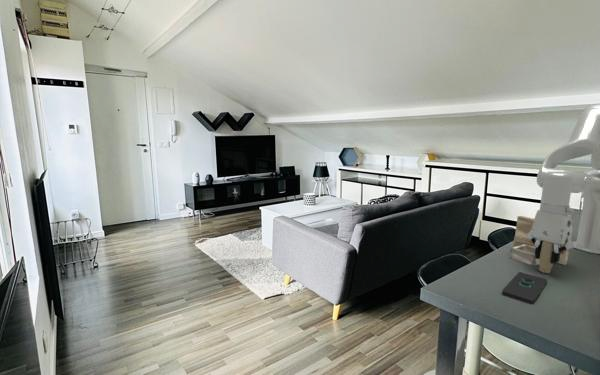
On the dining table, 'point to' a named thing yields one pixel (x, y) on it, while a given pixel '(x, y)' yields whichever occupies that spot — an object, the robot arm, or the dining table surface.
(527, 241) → the wooden wall shelf
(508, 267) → the dining table surface
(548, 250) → the handle
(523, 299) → the smart home device
